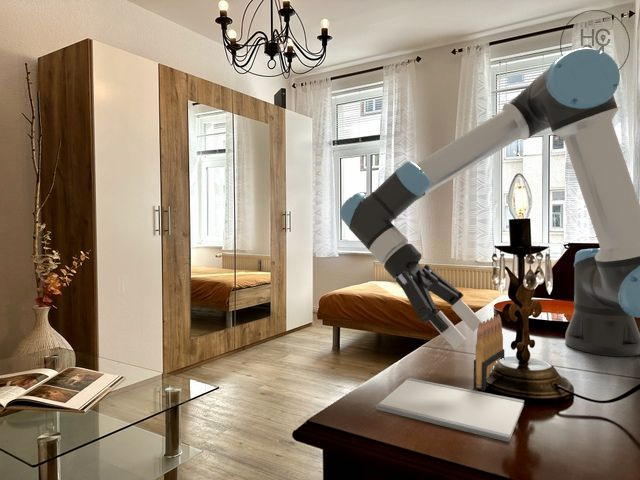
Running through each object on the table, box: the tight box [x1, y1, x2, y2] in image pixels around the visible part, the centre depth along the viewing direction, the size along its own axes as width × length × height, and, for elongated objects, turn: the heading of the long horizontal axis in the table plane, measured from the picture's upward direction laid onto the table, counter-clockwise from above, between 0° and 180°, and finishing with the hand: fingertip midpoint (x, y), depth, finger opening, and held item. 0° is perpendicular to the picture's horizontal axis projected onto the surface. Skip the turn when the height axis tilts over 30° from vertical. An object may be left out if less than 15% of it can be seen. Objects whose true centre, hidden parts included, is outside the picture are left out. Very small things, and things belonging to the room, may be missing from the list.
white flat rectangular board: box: [375, 377, 525, 443], centre depth 70 cm, size 20×14×1 cm
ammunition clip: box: [473, 313, 505, 392], centre depth 81 cm, size 11×2×12 cm, turn 137°
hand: (470, 335), depth 82 cm, fingers open, 13 cm apart
